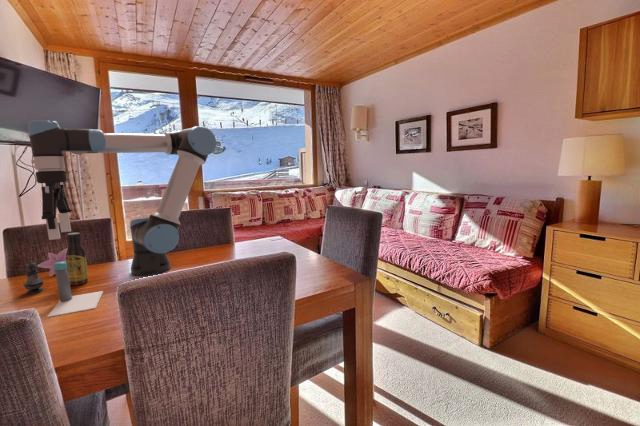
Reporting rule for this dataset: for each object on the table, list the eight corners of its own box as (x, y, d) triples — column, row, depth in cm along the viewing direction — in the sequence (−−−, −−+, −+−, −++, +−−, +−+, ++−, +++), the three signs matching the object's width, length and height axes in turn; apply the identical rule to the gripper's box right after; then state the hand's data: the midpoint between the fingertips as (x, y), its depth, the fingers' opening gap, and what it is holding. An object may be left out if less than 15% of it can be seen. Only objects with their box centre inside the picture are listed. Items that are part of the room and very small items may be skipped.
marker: (67, 297, 111) (61, 260, 108) (75, 298, 110) (68, 261, 107) (57, 301, 107) (50, 264, 105) (64, 302, 106) (58, 265, 104)
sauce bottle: (65, 286, 122) (57, 235, 119) (76, 280, 128) (68, 232, 125) (83, 285, 123) (75, 234, 120) (93, 279, 129) (86, 231, 126)
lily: (35, 279, 135) (32, 262, 131) (54, 261, 145) (52, 244, 141) (66, 285, 138) (65, 268, 133) (82, 266, 148) (82, 251, 143)
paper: (103, 291, 116) (103, 290, 116) (95, 308, 101) (95, 307, 101) (62, 298, 110) (61, 297, 110) (47, 317, 96) (47, 316, 96)
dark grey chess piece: (21, 295, 114) (16, 263, 112) (27, 290, 119) (22, 259, 118) (43, 292, 117) (37, 260, 115) (47, 287, 122) (42, 256, 120)
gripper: (47, 170, 112) (57, 230, 115) (20, 170, 90) (33, 244, 93) (74, 169, 115) (82, 227, 119) (53, 169, 93) (65, 241, 96)
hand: (60, 235), depth 106 cm, fingers open, 13 cm apart
